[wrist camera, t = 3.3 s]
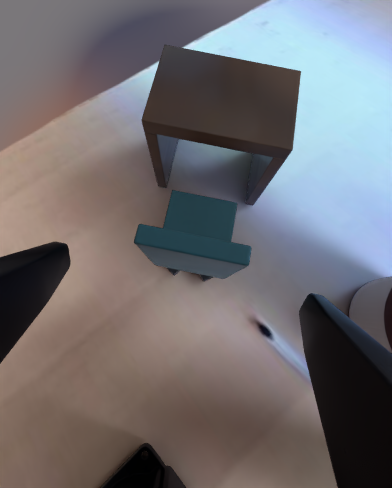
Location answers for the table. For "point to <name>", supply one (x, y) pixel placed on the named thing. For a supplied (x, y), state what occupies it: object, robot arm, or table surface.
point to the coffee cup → (374, 310)
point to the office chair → (195, 238)
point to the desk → (221, 111)
